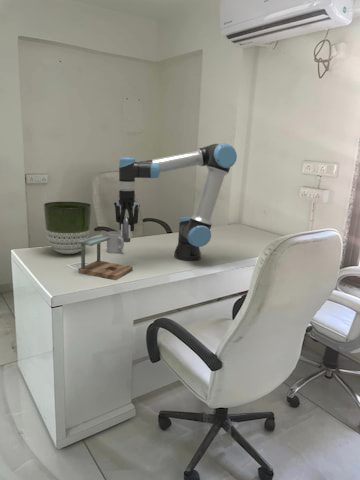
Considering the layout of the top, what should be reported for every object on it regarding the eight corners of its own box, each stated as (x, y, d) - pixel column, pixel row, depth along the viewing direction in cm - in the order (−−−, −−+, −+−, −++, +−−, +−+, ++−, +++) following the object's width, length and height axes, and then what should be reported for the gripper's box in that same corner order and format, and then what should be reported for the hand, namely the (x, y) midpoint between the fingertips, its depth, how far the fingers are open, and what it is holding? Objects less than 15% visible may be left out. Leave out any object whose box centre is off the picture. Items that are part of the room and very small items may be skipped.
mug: (103, 251, 212) (103, 232, 209) (115, 248, 218) (115, 230, 216) (117, 255, 204) (117, 236, 202) (128, 253, 211) (129, 234, 208)
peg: (131, 241, 186) (131, 217, 183) (128, 242, 182) (128, 218, 179) (125, 240, 187) (125, 216, 184) (121, 241, 183) (121, 218, 181)
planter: (99, 254, 205) (100, 206, 198) (59, 261, 187) (58, 209, 181) (76, 245, 221) (75, 200, 214) (36, 251, 203) (35, 202, 197)
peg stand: (132, 270, 180) (133, 240, 177) (115, 280, 166) (116, 247, 162) (97, 264, 187) (97, 235, 184) (78, 272, 172) (78, 241, 169)
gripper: (145, 190, 179) (144, 237, 185) (116, 188, 185) (116, 233, 190) (138, 191, 172) (138, 240, 178) (108, 189, 178) (108, 236, 183)
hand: (126, 236), depth 184 cm, fingers closed on peg, 3 cm apart
